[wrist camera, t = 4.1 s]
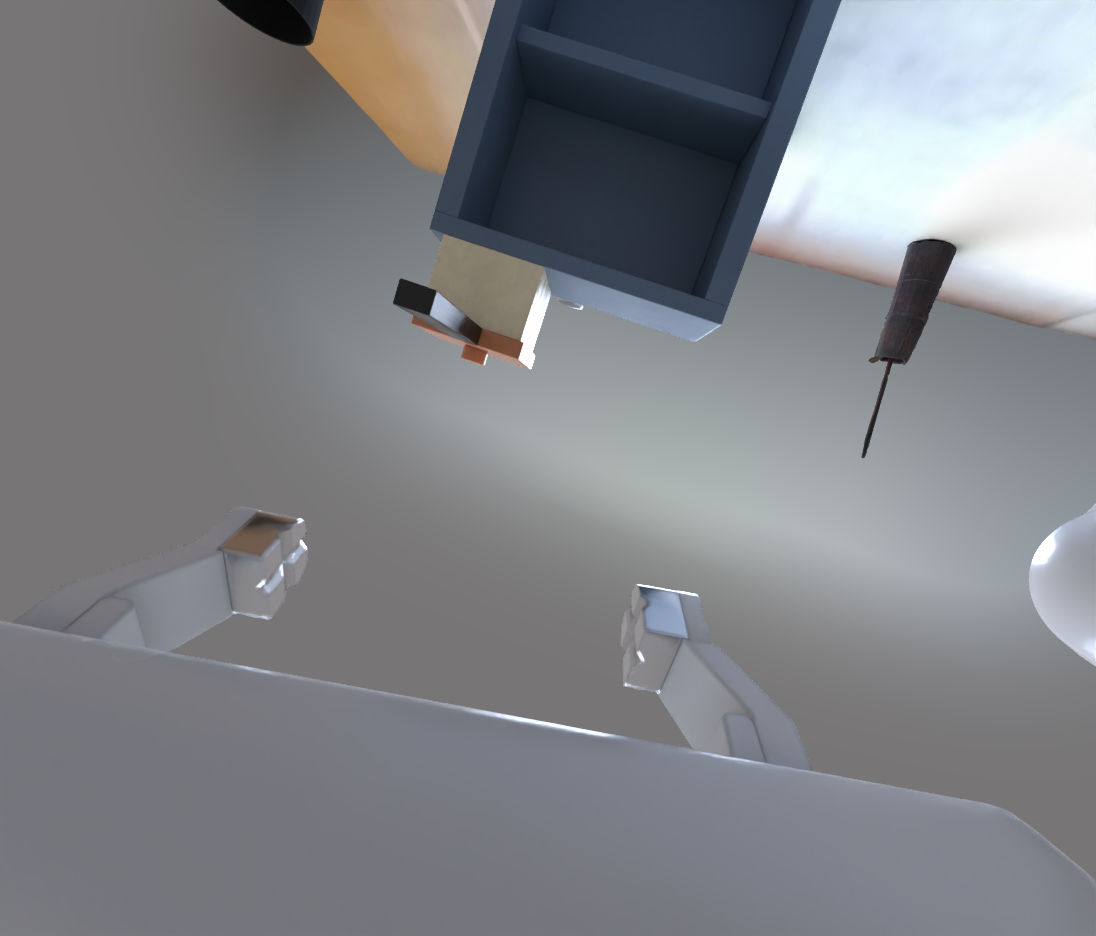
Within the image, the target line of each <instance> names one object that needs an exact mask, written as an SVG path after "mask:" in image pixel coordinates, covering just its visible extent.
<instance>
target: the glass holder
mask: <svg viewBox="0 0 1096 936" xmlns="http://www.w3.org/2000/svg"><path fill="white" fill-rule="evenodd" d="M218 1H219V2H220V3H221V4H222V5H224V6H225V7H226V8H227V9H228V10H230V11H231V12H232V13H234V14H235V15H236V16H238V17H239V18H240V19H242V20H243V21H245V22H246V23H248V24H250V25H251V26H253V27H254V28H256V29H258V30H259V31H261V32H263V33H265V34H267V35H269V36H271V37H273V38H275V39H278V40H280V41H282V42H285V43H288V44H292V45H296V46H308V45H310V44H312V42H313V40H314V37H315V33H316V29H317V25H318V21H319V17H320V13H321V9H322V5H323V1H324V0H218Z"/></svg>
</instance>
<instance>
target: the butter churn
mask: <svg viewBox="0 0 1096 936" xmlns="http://www.w3.org/2000/svg"><path fill="white" fill-rule="evenodd" d="M955 252H956V248H955V247H953V245H951V244H950V243H945V242H941V241H940V242H938V241H923V242H920V243H918V242H914V243H912V244H910V245H908V249H907V252H906V255H905V259H904V262H903V266H902V269H901V273H900V276H899V280H898V282H897V287H896V291H895V293H894V297H893V300H892V303H891V306H890V309H889V312H888V314H887V315H886V322H885V325H884V328H883V330H882V333H881V337H880V341H879V344H878V347H877V349H876V353H875V356H874V357H873V358H871V359H870V360H869V362H871V363H875V362H877V361H878V360H880V361H886V362H888V364H887V367H886V371H885V375H884V378H883V381H882V384H881V388H880V392H879V395H878V399H877V402H876V405H875V409H874V412H873V415H872V418H871V421H870V424H869V428H868V432H867V435H866V438H865V443H864V448H863V453H862V458H864V457H865V456H866V453H867V449H868V446H869V443H870V438H871V435H872V432H873V428H874V425H875V421H876V417H877V414H878V410H879V407H880V403H881V400H882V397H883V394H884V390H885V387H886V383H887V379H888V375H889V373H890V368H891V365H892V363H894V364H903V365H905V364H906V363H907V361H908V360H909V358H910V356H911V354H912V352H913V350H914V348H915V346H916V344H917V341H918V340H919V338H920V336H921V334H922V331H923V328H924V326H925V325H926V322H927V320H928V315H929V312H930V310H931V308H932V306H933V303H934V301H935V298H936V296H937V295H938V293H939V289H940V288H941V286H942V282H943V280H944V278H945V276H946V274H947V271H948V269H949V267H950V264H951V262H952V260H953V257H954V255H955Z"/></svg>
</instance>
